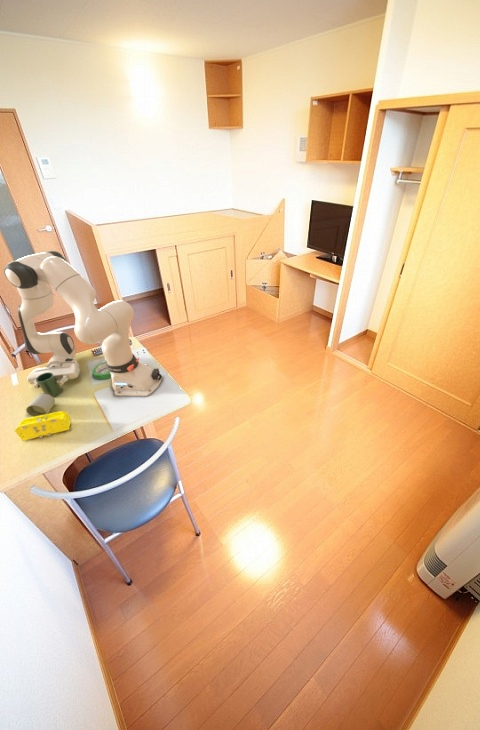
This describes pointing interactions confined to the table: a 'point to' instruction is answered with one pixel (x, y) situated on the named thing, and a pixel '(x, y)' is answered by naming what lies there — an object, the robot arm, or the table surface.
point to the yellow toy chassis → (43, 425)
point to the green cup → (48, 384)
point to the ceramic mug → (40, 405)
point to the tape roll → (101, 375)
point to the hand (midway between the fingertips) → (48, 385)
